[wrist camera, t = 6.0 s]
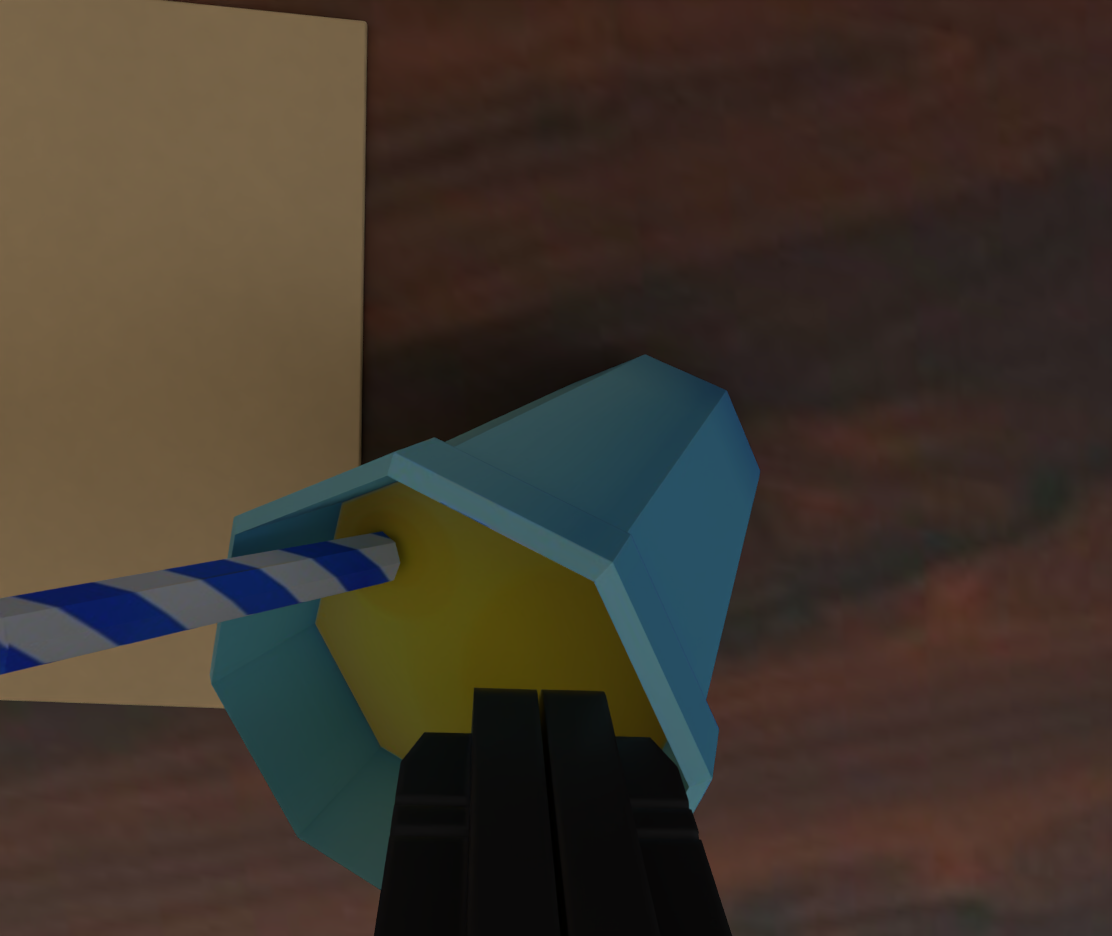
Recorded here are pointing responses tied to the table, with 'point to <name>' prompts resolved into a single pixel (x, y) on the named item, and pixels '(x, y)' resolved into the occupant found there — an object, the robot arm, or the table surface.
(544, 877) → the robot arm
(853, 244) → the table surface
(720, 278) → the table surface
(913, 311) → the table surface
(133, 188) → the cork mat
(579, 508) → the cup
